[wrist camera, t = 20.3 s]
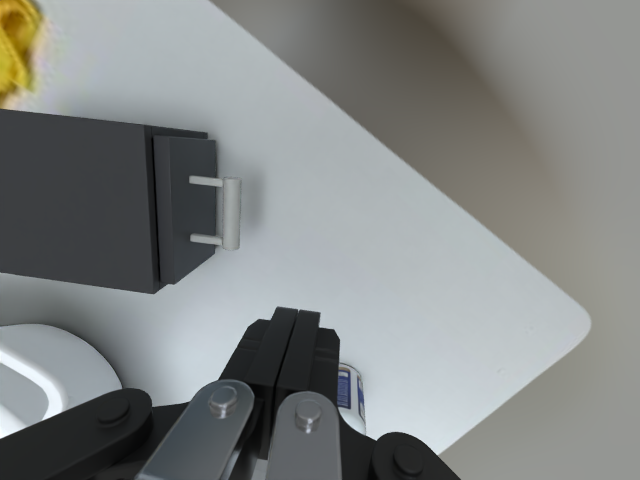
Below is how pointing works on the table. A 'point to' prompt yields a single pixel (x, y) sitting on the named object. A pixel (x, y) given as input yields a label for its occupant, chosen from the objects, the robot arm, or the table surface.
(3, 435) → the pot
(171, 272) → the cabinet drawer
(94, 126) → the small drawer cabinet
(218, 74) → the table surface
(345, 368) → the pill bottle
